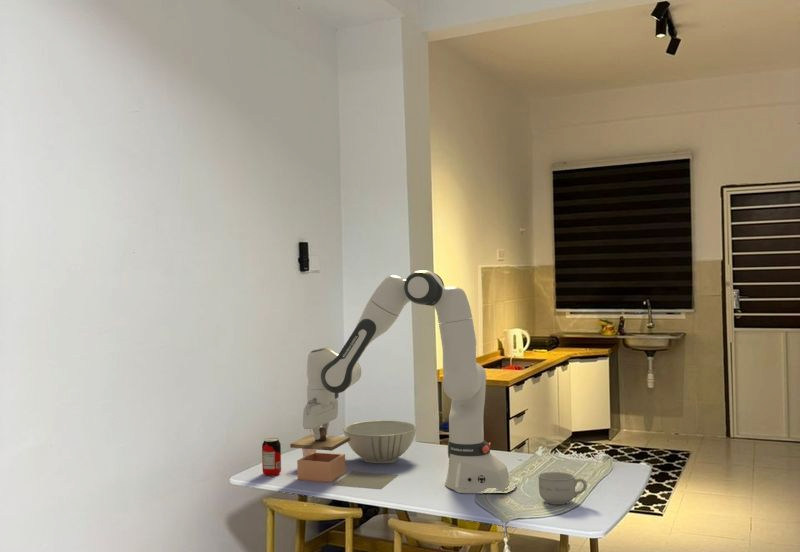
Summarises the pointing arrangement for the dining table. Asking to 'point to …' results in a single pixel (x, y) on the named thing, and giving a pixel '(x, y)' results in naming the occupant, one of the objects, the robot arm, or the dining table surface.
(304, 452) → the smoothie
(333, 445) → the walnut lid
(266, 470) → the beverage can
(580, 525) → the dining table surface
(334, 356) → the robot arm
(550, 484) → the teacup
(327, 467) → the terracotta open box
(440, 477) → the dining table surface
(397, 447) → the decorative bowl
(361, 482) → the rubber mat
